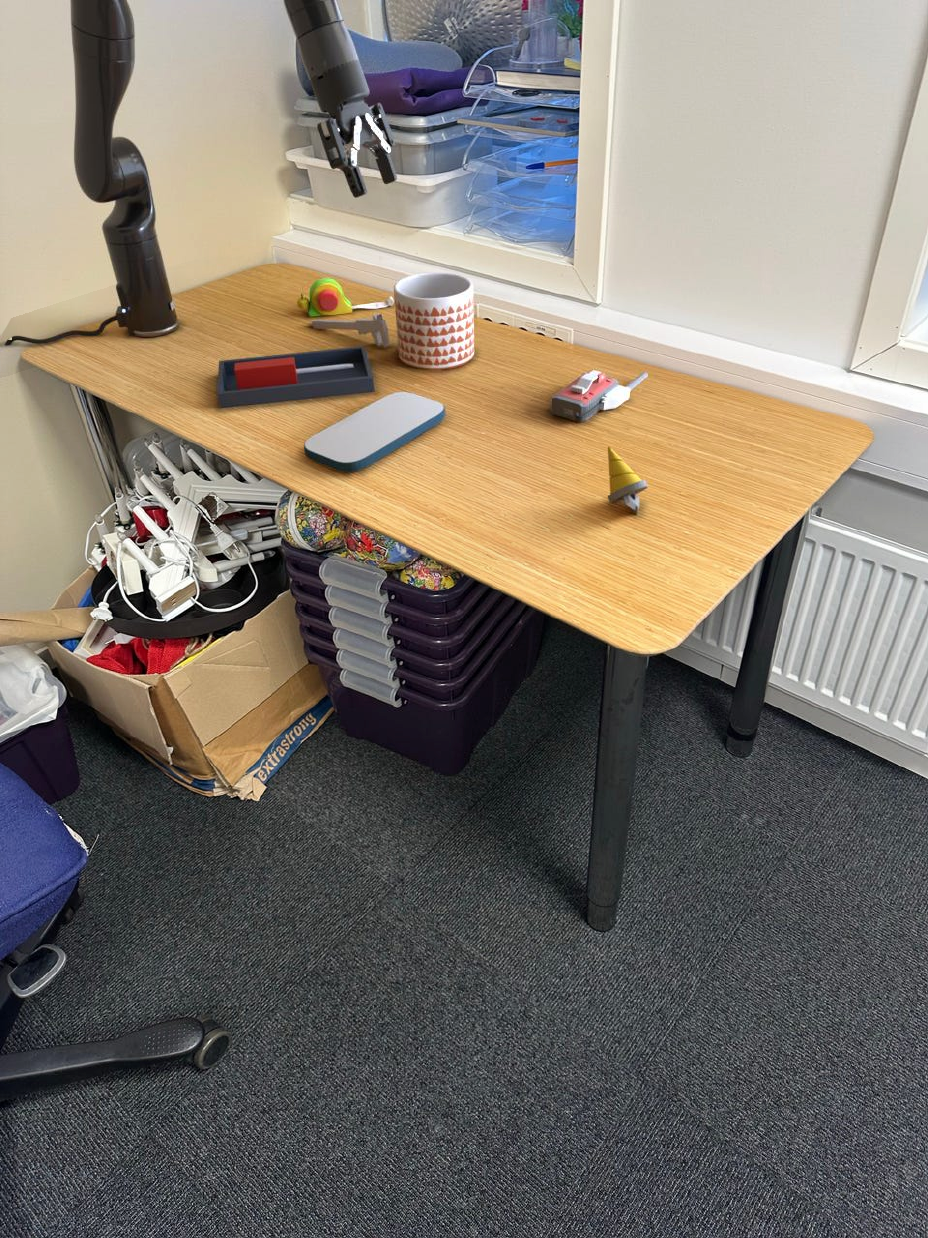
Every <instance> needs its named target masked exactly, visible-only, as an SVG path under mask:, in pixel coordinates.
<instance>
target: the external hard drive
mask: <svg viewBox="0 0 928 1238" xmlns="http://www.w3.org/2000/svg"><path fill="white" fill-rule="evenodd" d="M445 417H446V408H445V405H444V404H443V403H442V402H440V401H437V400H435V399H432V398H429V397H426V396H423V395H420V394H417V393H415V392H414V393H413V392H410V391H397V392H393V393H389V394H387V395H385V396H382V397H381V398H379V399H377V400H376V401H375V400H374V402H371V403H370V404H368V405H366V406H365V407H363V408H360V409H358V410H357V411H355V412H354V413H351V414H350V415H348V416H346V417H345V418H342V419H341V420H339V421H337V422H335V423H333V424H331V425H330V426H328V427H325V428H324V429H322V430H321V431H318V432H317V433H315V434H313V435H312V436H310V437H309V438H307V439H306V440H305V442H304V445H303V451H304V455H305V456H306V458H307V459H309V460H310V461H312V462H315V463H317V464H320V465H322V466H324V467H327V468H329V469H332V470H334V471H337V472H340V473H354V472H358V471H361V470H364V469H365V468H367V467H370V466H372V465H373V464H375V463H376V462H378V461H379V460H381V459H383V458H384V457H386V456H388V455H389V454H391V453H393V452H394V451H396V450H397V449H399V448H401V447H403V446H404V445H406V444H407V443H410V442H411V441H413V440H414V439H416V438H418V437H419V436H421V435H422V434H424V433H426V432H427V431H429V430H430V429H432V428H435V427H436V426H437V425H439V424H441V422H442V421H443V420H444V419H445Z"/></svg>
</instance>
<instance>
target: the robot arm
mask: <svg viewBox="0 0 928 1238" xmlns="http://www.w3.org/2000/svg"><path fill="white" fill-rule="evenodd" d="M282 1H283V5H284V9H285V11H286V15H287V17H288V21H289V23H290V26H291V29H292V31H293V33H294V36H295V40H296V42H297V45H298V50H299V54H300V57H301V60H302V64H303V66H304V68H305V72H306V75H307V77H308V80H309V83H310V86H311V88H312V91H313V94H314V96H315V99H316V101H317V105H318V107H319V110H320V112H321V113H323V114H328V116H329V117H328V118H327V119H324V120H322V121H321V122H319V123H317V125H316V127H317V131H318V134H319V137H320V140H321V143H322V146H323V149H324V152H325V155H326V158H327V161H328V164H329V168H331V169H332V170H336V169H337V170H339V171H341V172H343V174H344V177H345V180H346V183H347V186H348V187H349V190H350V191H349V192H351V194H352V196H353V197H354V198H355V199H356V198H360V197H363V196H365V195H367V193H368V189H367V187H366V183H365V181H364V178H363V176H362V172H361V170H360V167H359V165H358V164H357V162H358V160H357V159H358V152H359V151H360V148H361V147H360V146H362V148H365V149H368V150H369V151H370V153H371V154H372V155H373V156H374V158H375V162H376V165H377V168H378V171H379V173H380V177H381V179H382V182H383V184H384V185H388V184H391V183H395V182H396V181H397V180H398V176H397V171H396V169H395V166H394V163H393V160H392V157H391V154H390V153H391V152H392V148H393V147H395V146H396V141H395V137H394V135H393V132H392V130H391V127H390V124H389V121H388V118H387V116H386V113H385V110H384V108H383V105H382V104H381V103H380V102H377V103H375V104H373V105H371V106H368V105H369V104H367V100H366V98H367V97H368V96H369V95H370V93H371V92H370V88H369V85H368V83H367V79H366V76H365V73H364V70H363V67H362V65H361V64H362V63H361V61H360V59H359V56H358V53H357V50H356V47H355V44H354V41H353V38H352V37H351V34H350V32H349V30H348V27H347V26H346V23H345V21H344V18H343V15H342V11H341V8H340V5H339V2H338V0H282ZM69 3H70V27H71V29H70V30H71V44H72V56H73V67H74V69H73V70H74V92H75V93H74V94H75V113H74V115H75V116H74V117H75V118H74V138H73V164H74V172H75V176H76V178H77V182H78V184H79V186H80V188H81V191H82V192H83V193H84V195H85V196H86V197H87V198H88V199H89V200H90V201H92V202H95V203H97V204H107V203H112V202H114V206H113V209H112V210H111V212H110V214H109V215H108V216H107V217H106V219H104V221H102V222H103V223H102V225H101V230H102V235H103V238H104V241H105V244H106V247H107V252H108V255H109V259H110V262H111V266H112V270H113V273H114V277H115V281H116V285H115V290H116V293H117V298H118V300H119V304H120V305H117V308H116V311H115V315H113V316H111V317H108V318H107V319H105V320H103V321H102V322H101V323H100V324H99V327H98V328H97V329H96V330H81V329H77V330H76V329H75V330H68V331H65V332H62V333H59V334H56V335H54V336H51V337H48V338H39V339H37V338H32V337H27V336H24V335H13V336H11V337H12V340H8V339H7V340H6V341H5V343H4V346H5V347H6V346H10V345H12V343H15V342H16V341H21V342H25V343H29V344H36V345H44V344H45V345H46V344H49V343H53V342H57V341H60V340H62V339H64V338H67V337H71V336H88V337H93V336H98V335H101V334H102V333H103V332H104V330H105V328H106V327H107V326H108V325H109V324H111V323H114V322H117V324H118V327H119V328H126V329H127V333H128V336H129V337H141V338H153V337H160V336H164V335H167V334H170V333H173V332H174V331H176V330H177V329H178V328H179V327H180V323H179V319H178V315H177V312H176V309H175V307H176V303H175V299H174V298H173V295H172V291H171V287H170V283H169V278H168V275H167V271H166V267H165V263H164V259H163V254H162V250H161V245H160V242H159V238H158V233H157V230H156V222H157V221H156V220H157V214H156V208H155V201H154V197H153V192H152V186H151V181H150V175H149V172H148V168H147V164H146V161H145V159H144V156H143V155H142V153H141V151H140V149H139V148H138V146H137V145H136V143H134V142H133V141H132V140H131V139H129V138H127V137H125V136H114V126H115V120H116V116H117V113H118V111H119V109H120V106H121V103H122V101H123V99H124V97H125V95H126V93H127V90H128V88H129V85H130V82H131V80H132V76H133V73H134V69H135V63H136V62H135V61H136V60H135V59H136V46H135V45H136V43H135V37H136V35H135V33H136V32H135V21H134V17H133V13H132V12H133V11H132V10H131V7H130V5H129V2H128V0H70V2H69ZM382 131H383V132H382ZM384 135H385V138H386V139H385V138H384ZM334 149H335V152H336V154H337V156H338V157H336V155H335V152H334Z"/></svg>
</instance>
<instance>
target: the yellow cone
mask: <svg viewBox="0 0 928 1238" xmlns="http://www.w3.org/2000/svg"><path fill="white" fill-rule="evenodd" d="M607 458H608V461H607V462H608V476H609V477H608V478H609V495H608V496H607V499H608V501H609V503H610V504H616V503H619V502H622V501H623V503H624V505H626V506H627V507H629V508H631V510H632V512H634V513H635V514H636V515H638V514H639V508H640V498H639V495H638V494H640V493H641V492H643V491H645V490H646V489H648V488H649V486H648V484H647V481H646V479H641V478H640V477H639V476H638V475H637V474H636V473H635V472H634V470H632V468H630V466H629V465H628V464H626V462H625V461H624V460H623V459H622V458H621V457H620V456H619V455H618V454H617V453H616V452H615V451H614V450H613V449H612V448H611V447H610V446H607Z"/></svg>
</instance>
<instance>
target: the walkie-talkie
mask: <svg viewBox="0 0 928 1238" xmlns="http://www.w3.org/2000/svg"><path fill="white" fill-rule="evenodd" d="M648 376H649V374H648V372H643V373H641V374H639V376H637V377H635V379H633V380H632V381H631V382H629V383H628V384H627V385H620V384H619V381H618V380H616V379H615V378H612V377H608V376H606V373H605V372H603V371H599V370H596V369H595V370H594V369H590V370H589V371H587V372H586V373H583V374H582V375H580V376H578V377H577V378H576V379H574V380H573V381H571V382H570V383H569V384H568V385H566V386H564V387H563V388H562V389H560V390H559V391H558V392H557V393H555V394H554V395H552V396H551V399H550V400H551V401H550V412H551V414H553V415H554V416H558V417H561V418H565V419H567V420H568V419H569V420H572V421H575V422H578V423H582V422H587V421H588V420H589V419H591V418H592V417H593V416H594V415H595V414H597V413H598V412H599V411H600V410H602V411H607V410H612V409H617V408H618V407H619V406H620V405H622V404H623V403H624V402H626V401H628V400H630V395H631V394H630V393H631V391H632V390H633V389H634V388H636V387H637V386H639V385H640V384H641V382H643V381H644V380H645V379H646V378H647V377H648Z"/></svg>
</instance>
